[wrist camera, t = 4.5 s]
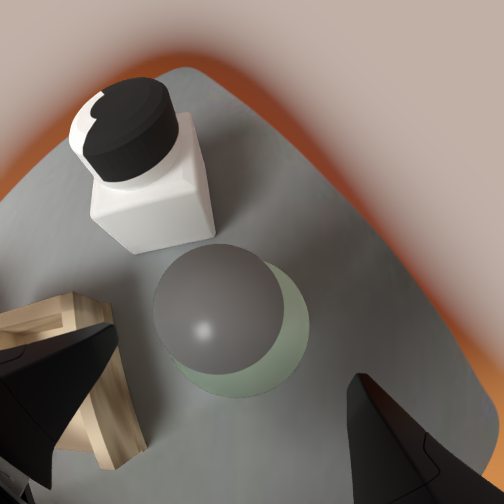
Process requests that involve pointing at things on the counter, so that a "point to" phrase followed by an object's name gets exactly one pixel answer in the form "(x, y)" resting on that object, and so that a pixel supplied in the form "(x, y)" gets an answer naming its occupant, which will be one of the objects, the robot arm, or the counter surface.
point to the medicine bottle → (143, 167)
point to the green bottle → (230, 320)
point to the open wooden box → (103, 392)
